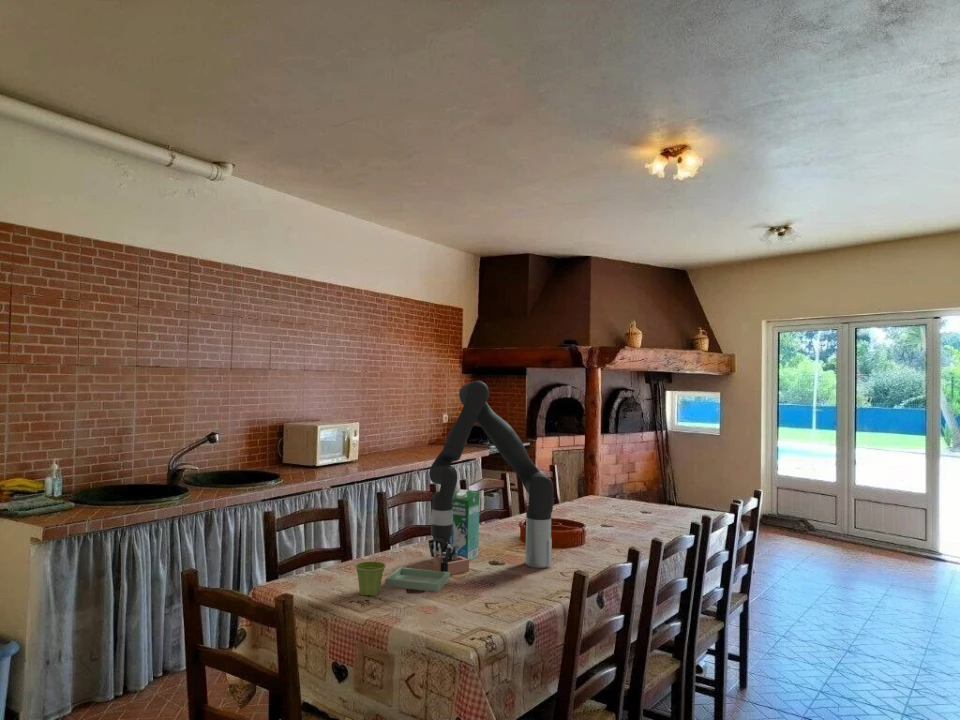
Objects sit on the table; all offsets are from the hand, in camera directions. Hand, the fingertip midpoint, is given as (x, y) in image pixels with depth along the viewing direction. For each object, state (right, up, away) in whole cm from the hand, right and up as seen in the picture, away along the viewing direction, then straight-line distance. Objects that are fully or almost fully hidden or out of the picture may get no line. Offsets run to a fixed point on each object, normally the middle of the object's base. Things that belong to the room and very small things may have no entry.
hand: (440, 571), depth 215 cm
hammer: (+5, -1, +4) cm, 6 cm away
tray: (-7, 0, -10) cm, 12 cm away
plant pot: (-21, 0, -21) cm, 30 cm away
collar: (+3, -1, +2) cm, 4 cm away
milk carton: (+7, -2, +21) cm, 22 cm away
